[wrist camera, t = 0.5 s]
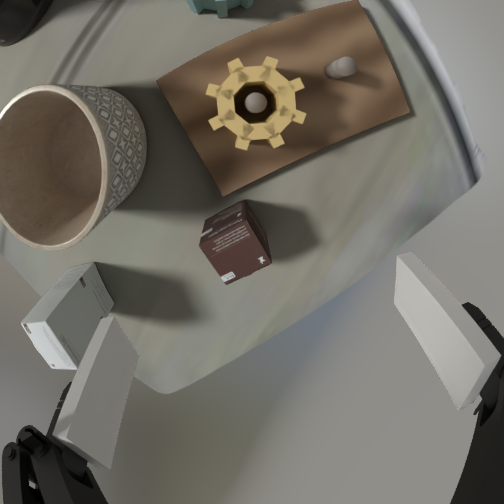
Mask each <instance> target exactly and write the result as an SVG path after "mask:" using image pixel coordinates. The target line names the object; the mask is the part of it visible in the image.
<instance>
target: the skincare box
mask: <svg viewBox="0 0 504 504" xmlns="http://www.w3.org/2000/svg"><path fill="white" fill-rule="evenodd" d="M113 306H114V302H113V300H112V298H111V297H110V295H109V293H108V292H107V290H106V288H105V286H104V284H103V281H102V279H101V277H100V275H99V272H98V270H97V267H96V265H95V263H94V262H93V263H88V264H84V265H80V266H76V267H72V268H69V269H68V270H67V271H66V272H65V273H64V274H63V275H62V276H61V277H60V278H59V279H58V280H57V281H56V283H55V284H54V285H53V286H52V287H51V288H50V289H49V290H48V291H47V293H46V294H45V295H44V296H43V297H42V298H41V299H40V301H39V302H38V303H37V304H36V305H35V306H34V308H33V309H32V310H31V311H30V312H29V314H28V315H27V316H26V317H25V318H24V320H23V321H22V322H21V325H22V326H23V328H24V329H25V331H26V333H27V334H28V336H29V337H30V339H31V340H32V342H33V344H34V346H35V348H36V349H37V350H38V352H40V354H41V355H42V356H43V357H44V359H45V360H46V362H47V363H48V364H49V365H50V366H51V368H52V369H73V370H77V369H78V368H79V365H80V363H81V361H82V359H83V356H84V354H85V352H86V350H87V348H88V346H89V343H90V341H91V339H92V337H93V335H94V333H95V331H96V329H97V327H98V325H99V323H100V321H101V319H102V318H107V316H108V314H109V312H110V311H111V309H112V307H113Z"/></svg>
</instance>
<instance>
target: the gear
mask: <svg viewBox="0 0 504 504" xmlns="http://www.w3.org/2000/svg"><path fill="white" fill-rule="evenodd" d="M187 2H188V4H189V6H190V8H191V10H192V11H193V12H195V13H197V14H199V13H200V12H201V11H202V10H203V9H208V10H214V11H217V13H218V18H226V17H228V12H227V10H229V9H232V8H234V7H237V6H239V5H241V6H243V7H244V8H246V9H248V8H249V7H251V6H252V5H253V3H254V0H187Z"/></svg>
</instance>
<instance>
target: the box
mask: <svg viewBox="0 0 504 504" xmlns="http://www.w3.org/2000/svg"><path fill="white" fill-rule="evenodd" d="M199 247H200V249H201V250H202V252H203V253H204V254H205V256H206V257H207V259H208V260H209V261H210V263H211V264H212V266H213V267H214V268H215V270H216V271H217V273H218V274H219V276H220V277H221V278H222V280H223V281H224V283H225V284H226V285H228V284H230V283H232V282H234V281H236V280H238V279H240V278H242V277H246V276H248V275H251V274H252V273H254V272H255V271H257V270H259V269H261V268H263V267H266V266H268V265H270V264H271V263H272V261H271V255H270V251H269V246H268V241H267V236H266V234H265V232H264V231H263V229H262V227H261V225H260V224H259V222H258V220H257V219H256V217H255V215H254V214H253V212H252V210H251V208H250V207H249V205H248V203H247V202H246V200H242V201H240V202H238V203H236V204H234V205H232V206H230V207H228V208H226V209H224V210H223V211H221V212H219V213H217V214H215V215H214V216H212V217H210V218H208V219H206V220H205V223H204V227H203V231H202V235H201V239H200V244H199Z"/></svg>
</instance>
